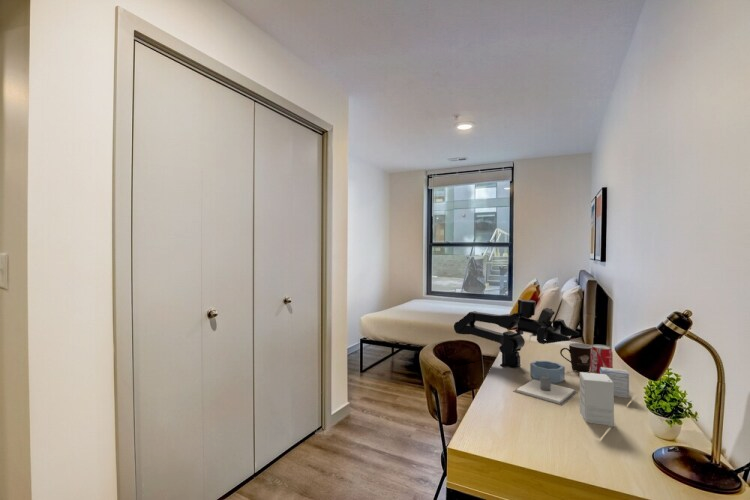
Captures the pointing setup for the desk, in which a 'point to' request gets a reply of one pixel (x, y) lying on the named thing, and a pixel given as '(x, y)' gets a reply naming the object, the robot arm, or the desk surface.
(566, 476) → the desk surface
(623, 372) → the medicine box
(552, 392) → the lid
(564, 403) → the mat
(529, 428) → the desk surface
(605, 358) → the soda can
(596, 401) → the supplement box
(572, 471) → the desk surface
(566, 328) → the robot arm
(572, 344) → the coffee mug
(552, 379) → the bowl
